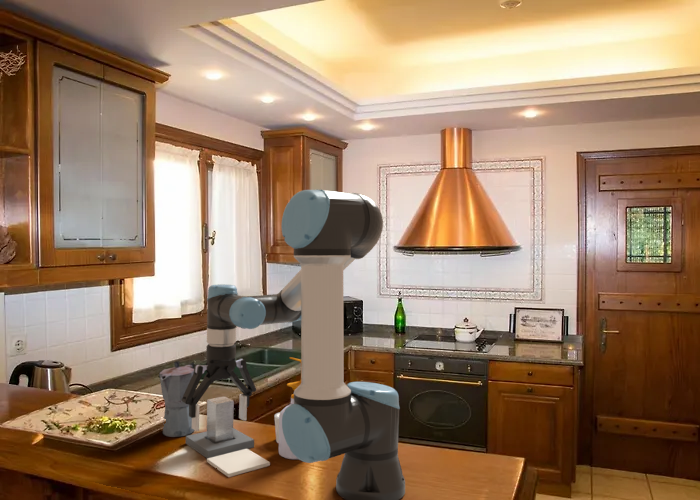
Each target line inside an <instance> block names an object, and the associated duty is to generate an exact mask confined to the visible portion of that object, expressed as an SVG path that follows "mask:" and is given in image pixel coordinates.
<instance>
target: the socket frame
mask: <svg viewBox="0 0 700 500" xmlns="http://www.w3.org/2000/svg"><path fill="white" fill-rule="evenodd" d="M185 444H186V445H187V446H189V447H190V448H191V449H192V450H194V451H196V452H197V453H198V454H200V455H201V456H203V457H204V458H206V460H207V459H208V458H212V457H215V456H219V455H223V454H227V453H231V452H235V451H239V450H243V449H249V450H250V449H252V448H254V447H255V439H254V438H253V437H251V436H248V435H247V434H244V433H243V432H241V431H240V430H238V429H236V428H234V427H233V440H229V441H224V442H220V443H216V444H214V443H212V442H211V441H209V440H208V439H207V430H206V431H203V432H198V433H193V434H188V435H185Z"/></svg>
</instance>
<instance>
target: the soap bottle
mask: <svg viewBox="0 0 700 500" xmlns="http://www.w3.org/2000/svg"><path fill="white" fill-rule="evenodd" d="M289 359H290V360H292V361H296V362H299V363H300V364H301V359H299V358H295V357H291V356H289ZM300 384H301V378H300V379H299V380H298V381H294V382H289V383H287V384H286V386H287V387H289V388H292V389H291V390H293V392H294V391H295V389H296V388H297V387H298V386H299V385H300ZM291 404H294V393H293V394H292V393H291V396H290V403H289V404H288V405H286V406H285V407H284V408H283V409H282V410H281V411H280V415H279V443H278V454H279V456H280V457H282V458H285V459H289V460H299V459H298V458H297V457H296V456H295V455H294V454H293V453H292V452H291V450H290V448H289V446H288V445H287V443H286V440H285V438H284V434H283V429H282V416H283V413H284V412H285V409H286V408H287V407H289V406H290V405H291Z"/></svg>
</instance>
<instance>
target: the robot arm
mask: <svg viewBox="0 0 700 500" xmlns="http://www.w3.org/2000/svg"><path fill="white" fill-rule="evenodd" d="M383 230H384V219H383V215H382V212H381V210H380V207H379V206H378V204H377V203H376V202H375V201H374V200H373V199H372V198H371V197H368V196H366V195H364V194H361V193H357V192H355V193H354V192H352V193H351V192H346V191H345V192H341V191H336V190H335V191H334V190H327V189H303V190H300V191H298V192H296V193H295V194H294V195H293V196H292V197H290V199H289V202H287V204H286V206H285V207H284V211H283V214H282V217H281V234H282V237H283V238H284V240H283V241H284V242H285V243H286V244H287V245H288V246H289V247H291V248H292V249H293V258H294V259H295V260H296V261H297V262H298V263H299V264H300V267H301V268H300V269H299V271H298V272H297V273H296V274H295V275H294V276H293V277H292V279H291V280H289V281H288V283H287V284H286V285H285V286H284V287H283V288H282V289H281V290H280V291H279V292H278V293H276V294H262V295H261V294H260V295H259V294H257V295H239V294H238V288H237V286H236V285H234V284H223V283H221V284H212V285H210V286H209V287H208V289H207V298H206V306H207V307H206V324H207V326H206V343H207V345H206V350H205V351H206V354H205V356H206V357H205V358H206V363H205V364H202V365H201V364H197V363H196V364H195V367H194V374H193V376H192V378H191V380H190V382H189V384H188V387H187V389H186V391H185V393H184V395H183V397H182V402H184V403H185V404H189V417H191V418H192V429H194V430H195V431H196V432H199V431H200V404H198V403H199V401H201V399H202V397H203V395H204V394H205V393H206V392H207V390H208V389H209V387H210V386H211V385H212V384H213V383H214V382H215V381H221V380H228V379H230V380H231V381H232V382H233V384H235V386H236V387H237V389H239V391H240V392H241V393H240V394H239V396H238V397H239V398H238V399H239V400H238V404H239V405H238V408H239V409H238V419H240V420H242V421H244V422H245V421H247V412H248V409H247V408H249V406H250V397H251V396H252V395H253V393H255V392H256V391H257V387H256V385H255V384H254V381H253V379H252V376H251V374H250V372H249V370H248V367H247V360H245V359H243V358H241V357H239V358H238V359H237V360H236V358H237V357H236V356H237V355H236V354H237V353H236V352H237V346H236V344H235V343H237V327H238V328H241V329H248V330H254V329H256V328H258V327H259V326H264V325H270V324H271V325H273V324H283V323H284V324H285V323H295V322H298V321H301V326H300V328H301V330H300V331H301V333H300V335H301V338H300V339H301V344H300V345H301V348H300V349H301V351H300V352H301V354H300V355H301V359H300V360H301V363H300V379H301V384H300V385H299V386H298V387H297V388H296V389H295V391H294V390H293V394H294V404H291V403H290V404H291V405H290V404H289V405H290V406H289V407H287V408H286V409H285V412H284V413H283V416H282V429H283V434H284V438H285V440H286V443H287V445H288V446H289V448H290V450H291V452H292V453H293V454H294V455H295V456H296V457H297V458H298V459H297V460H299V461H301V462H304V463H306V464H312V463H318V462H324V461H328V460H329V459H332V458H335V457H338V456H342V455H343V458H342V461H341V462H342V463H341V466H340V469H339V472H338V473H337V476H336V481H335V482H336V484H335V485H336V486H335V490H336V493H337V494H338V496H340V497H341V498H343V499H344V500H401V499H402V498H403V497H404V496H405V494H406V479H405V476H404V475H403V470H402V466H401V463H400V459H399V454H398V453H399V431H400V430H399V428H400V426H399V425H400V409H401V407H400V402H399V401H400V398H399V397H400V396H399V393H398V391H397V390H396V389H395V388H394V387H391V386H389V385H386V384H382V383H381V384H380V383H376V382H370V381H352V382H348V383H347V384H346V383H345V382H344V374H345V373H344V366H345V364H344V357H345V355H344V354H345V353H344V351H345V350H344V344H345V343H344V340H345V339H344V271H345V270H346V269H347V268H348V267H349V266H350V265H352V262H354V261H355V260H361V259H363V258H364V257H365V256H366V255H368V254H369V253H370V252H371V251H372V250H373V249H374V248H375V246H376V245H377V244H378V241H379V240H380V239H381V236H382V232H383ZM236 367H237V368H238V370H239V372H240V374H241V377H242V379H243V381H244V383H245V384H244V383H243V382H242V380H241V378H239V377H238V375H237V374H236V372H235V371H234V370H235V369H236ZM205 371H206V374H205V375H204V376H203V374H204V373H205ZM202 376H203V379H202ZM201 380H202V381H201ZM200 381H201V382H200ZM195 431H194V432H195Z"/></svg>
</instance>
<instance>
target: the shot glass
mask: <svg viewBox="0 0 700 500" xmlns="http://www.w3.org/2000/svg"><path fill="white" fill-rule="evenodd" d="M280 412H281V411H280ZM280 412H276V413H275V414H274V428H275V442H276V443H277V444H279V415H280Z"/></svg>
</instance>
